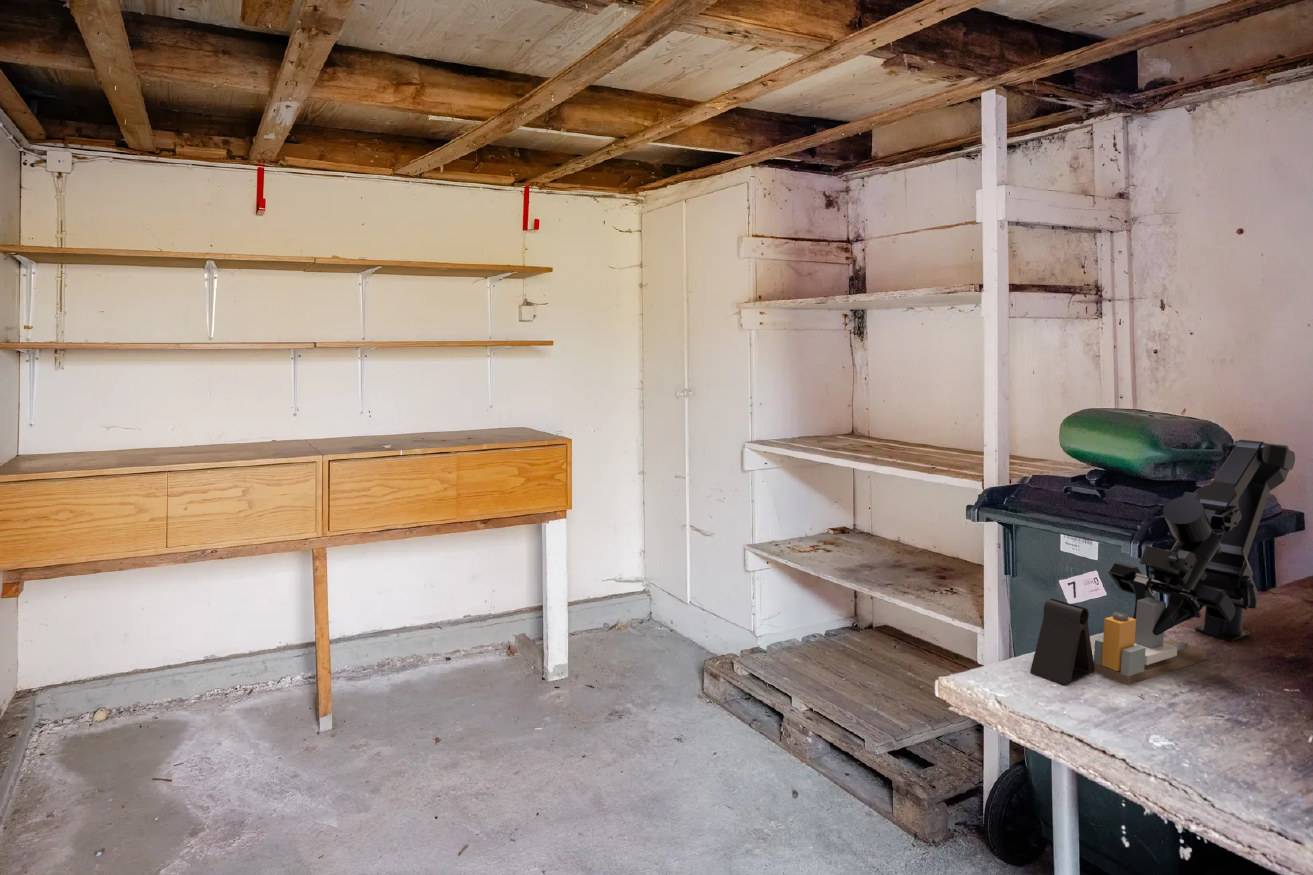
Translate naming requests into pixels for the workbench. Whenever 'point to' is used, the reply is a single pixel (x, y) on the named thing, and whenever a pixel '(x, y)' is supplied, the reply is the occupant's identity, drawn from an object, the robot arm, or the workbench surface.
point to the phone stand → (1063, 644)
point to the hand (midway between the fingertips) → (1144, 630)
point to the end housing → (1124, 658)
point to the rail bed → (1157, 664)
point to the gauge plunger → (1117, 638)
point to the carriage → (1144, 636)
